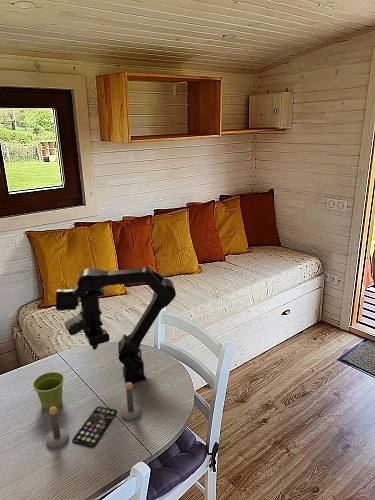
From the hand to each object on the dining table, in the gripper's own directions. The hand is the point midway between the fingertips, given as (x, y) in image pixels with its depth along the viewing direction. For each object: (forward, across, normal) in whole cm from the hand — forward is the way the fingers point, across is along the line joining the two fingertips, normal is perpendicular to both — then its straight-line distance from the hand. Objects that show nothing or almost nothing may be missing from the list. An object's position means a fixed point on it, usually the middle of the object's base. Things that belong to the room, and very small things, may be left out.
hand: (94, 348), depth 128 cm
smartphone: (+14, +20, -6) cm, 25 cm away
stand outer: (+13, +20, -17) cm, 29 cm away
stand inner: (+13, +20, +5) cm, 24 cm away
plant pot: (+13, +4, -16) cm, 21 cm away
